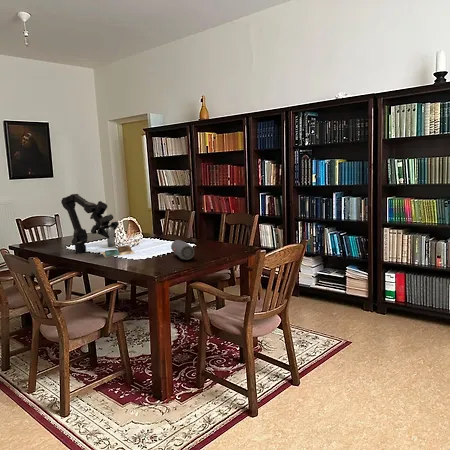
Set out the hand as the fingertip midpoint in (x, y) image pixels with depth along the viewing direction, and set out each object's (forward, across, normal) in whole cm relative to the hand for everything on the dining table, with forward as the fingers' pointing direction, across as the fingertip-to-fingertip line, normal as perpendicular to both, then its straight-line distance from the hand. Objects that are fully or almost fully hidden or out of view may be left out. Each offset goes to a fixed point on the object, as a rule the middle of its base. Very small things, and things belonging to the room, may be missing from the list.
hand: (111, 237), depth 271 cm
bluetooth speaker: (+41, +15, -23) cm, 49 cm away
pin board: (+7, +6, +11) cm, 14 cm away
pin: (+3, 0, +5) cm, 6 cm away
